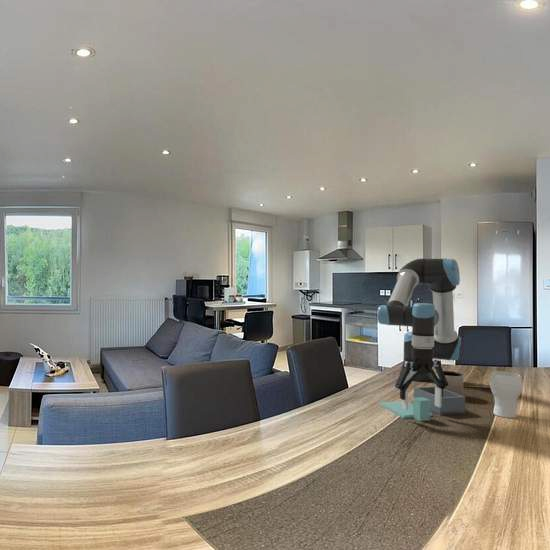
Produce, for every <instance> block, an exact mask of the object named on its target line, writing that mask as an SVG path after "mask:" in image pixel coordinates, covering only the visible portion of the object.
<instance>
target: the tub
mask: <svg viewBox="0 0 550 550" xmlns="http://www.w3.org/2000/svg"><path fill="white" fill-rule="evenodd" d="M435 387H437V386H436V385H435V386H434V385H433V386H422V387H420V386H419V387H417V386H416V387H413V398H419V397H424V398H426V399H428V400H430V412H431V413H432V412H433V413H435V414H437V415H438V416H444V415H445V416H446V415H456V414H457V415H458V414H465V413H466V396H465V395H463V396H462V395H459V394H457V393H454V392H451V391H449V390H446V389H443V397H441V407H437V406H435Z"/></svg>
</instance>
